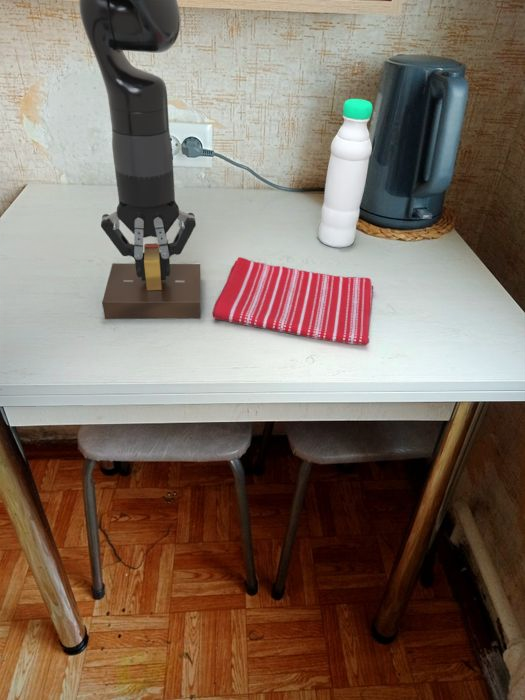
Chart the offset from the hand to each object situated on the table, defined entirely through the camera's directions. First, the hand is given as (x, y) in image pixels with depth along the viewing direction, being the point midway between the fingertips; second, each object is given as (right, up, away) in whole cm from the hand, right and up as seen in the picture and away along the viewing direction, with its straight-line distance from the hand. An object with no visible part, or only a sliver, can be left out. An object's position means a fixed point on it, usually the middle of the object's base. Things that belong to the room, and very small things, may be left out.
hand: (154, 277), depth 77 cm
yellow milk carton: (0, -1, 0) cm, 1 cm away
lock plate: (0, -3, +2) cm, 4 cm away
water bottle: (+31, +10, +21) cm, 39 cm away
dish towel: (+22, -4, +3) cm, 22 cm away
